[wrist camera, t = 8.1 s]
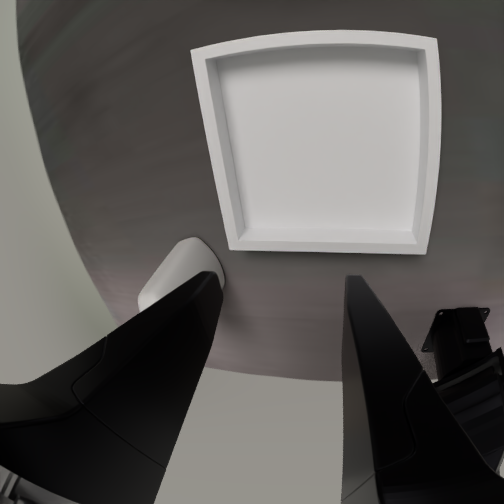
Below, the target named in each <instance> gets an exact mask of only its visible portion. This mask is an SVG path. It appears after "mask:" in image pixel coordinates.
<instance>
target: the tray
mask: <svg viewBox="0 0 504 504" xmlns="http://www.w3.org/2000/svg"><path fill="white" fill-rule="evenodd" d="M190 51H191V56H192V62H193V68H194V73H195V79H196V84H197V90H198V95H199V101H200V106H201V111H202V117H203V122H204V127H205V132H206V137H207V143H208V148H209V153H210V158H211V163H212V168H213V173H214V178H215V183H216V188H217V192H218V197H219V202H220V207H221V212H222V216H223V221H224V226H225V231H226V235H227V240H228V245H229V249H230V250H252V251H297V252H341V253H383V254H425V255H426V251H427V246H428V241H429V236H430V230H431V225H432V219H433V212H434V206H435V198H436V191H437V182H438V172H439V160H440V145H441V81H440V66H439V55H438V46H437V39H436V38H430V37H424V36H418V35H410V34H402V33H392V32H380V31H362V30H321V31H302V32H290V33H280V34H271V35H263V36H256V37H250V38H244V39H238V40H233V41H228V42H223V43H218V44H214V45H209V46H205V47H201V48H197V49H193V50H190Z"/></svg>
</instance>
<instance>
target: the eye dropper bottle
mask: <svg viewBox="0 0 504 504" xmlns="http://www.w3.org/2000/svg"><path fill="white" fill-rule="evenodd" d="M201 271H215V272H216V273H217V275H218V278H219V281H220V285H221V288H222V289H223V286H224V283H225V280H224V273H223V270H222V267H221V264H220V262H219V260H218V259H217V257H216V256H215V254H214V253H213V251H212V250H211V249H210V248H209V247H208V246H207V245H206V244H205V243H204V242H203V241H202V240H201V239H199V238H197V237H192V238H188V239H185V240H182V241H180V242H178V243H177V244H176V246H175V247H174V248H173V249H172V251H171V252H170V253H169V254H168V256H167V257H166V258H165V260H164V261H163V262H162V264H161V265H160V266H159V267H158V269H157V270H156V271H155V273H154V274H153V275H152V277H151V278H150V279H149V281H148V282H147V283H146V285H145V286H144V288H143V289H142V291H141V292H140V294H139V297H138V305H139V310H140V312H142V311H143V310H145V309H146V308H148V307H149V306H150V305H152V304H153V303H155V302H156V301H158V300H159V299H161V298H162V297H164V296H165V295H167V294H168V293H170V292H171V291H173V290H174V289H176V288H177V287H179V286H180V285H182V284H183V283H185V282H186V281H187V280H189V279H190V278H192V277H193V276H195V275H196V274H198V273H199V272H201Z"/></svg>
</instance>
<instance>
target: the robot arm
mask: <svg viewBox="0 0 504 504" xmlns="http://www.w3.org/2000/svg"><path fill="white" fill-rule="evenodd" d="M222 303H223V292H222V288H221V285H220V281H219V278H218V275H217V273H216V272H215V271H201V272H199V273H198V274H196V275H195V276H193V277H192V278H190V279H189V280H187V281H186V282H185V283H183V284H182V285H180V286H179V287H177V288H176V289H174V290H173V291H171V292H170V293H168V294H167V295H165V296H164V297H162V298H161V299H159V300H158V301H156V302H155V303H153V304H152V305H150V306H149V307H148V308H146V309H145V310H143V311H142V312H140V313H139V314H137V315H136V316H134V317H133V318H131V319H130V320H128V321H127V322H126V323H124V324H123V325H121V326H120V327H118V328H117V329H115V330H114V331H113V332H111V333H109V334H108V335H107V337H104V338H102V339H101V340H99V341H98V342H96V343H95V344H93V345H92V346H90V347H89V348H87V349H86V350H84V351H83V352H81V353H80V354H78V355H76V356H75V357H74V358H72V359H70V360H68V361H66V362H65V363H63V364H61V365H60V366H58V367H56V368H54V369H53V370H51V371H49V372H48V373H46V374H44V375H42V376H41V377H39V378H37V379H35V380H33V381H31V382H28V383H25V384H17V385H12V384H0V504H154V501H155V499H156V495H157V493H158V490H159V488H160V485H161V482H162V479H163V477H164V474H165V471H166V468H167V465H168V463H169V460H170V457H171V455H172V452H173V449H174V446H175V444H176V441H177V438H178V436H179V433H180V430H181V427H182V424H183V422H184V419H185V417H186V414H187V411H188V408H189V406H190V403H191V400H192V398H193V395H194V392H195V390H196V387H197V384H198V382H199V379H200V376H201V374H202V371H203V368H204V366H205V363H206V360H207V358H208V355H209V352H210V349H211V346H212V343H213V339H214V335H215V331H216V327H217V323H218V319H219V315H220V311H221V307H222ZM485 311H487V312H486V313H484V312H485ZM441 312H443V314H442V315H439V313H441ZM489 313H490V309H489V308H478V307H471V308H457V309H441V310H439V311H437V313H436V315H435V318H434V321H433V323H432V326H431V328H430V331H429V333H428V335H427V338H426V340H425V342H424V345H423V347H422V352H434V357H435V363H436V369H437V376H438V381H437V382H435V383H432V382H431V380H430V378H429V377H428V375H427V373H426V371H425V370H422V369H423V367H422V365H421V363H420V362H419V360H418V359H417V357H416V355H415V354H414V352H413V350H412V349H411V347H410V346H409V344H408V343H407V341H406V339H405V338H404V336H403V335H402V333H401V332H400V330H399V329H398V327H397V326H396V324H395V322H394V321H393V319H392V318H391V316H390V315H389V313H388V312H387V310H386V309H385V308H384V306H383V305H382V303H381V302H380V300H379V299H378V297H377V296H376V294H375V293H374V292H373V290H372V289H371V287H370V286H369V284H368V283H367V282H366V280H365V279H364V277H363V276H362V275H347V276H346V281H345V297H344V320H343V338H342V381H343V427H344V428H343V429H344V430H343V433H344V436H343V438H344V439H343V475H342V494H341V501H342V502H341V504H504V478H503V477H501V476H500V472H499V469H500V466H501V464H502V461H503V458H504V355H503V352H502V349H501V347H500V348H498V349H496V351H495V352H492V349H491V346H490V343H489V340H490V338H489V335H488V332H487V329H486V326H485V323H484V322H485V321H486V319H487V317H488V315H489ZM425 348H428V349H427V350H424V349H425Z"/></svg>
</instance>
